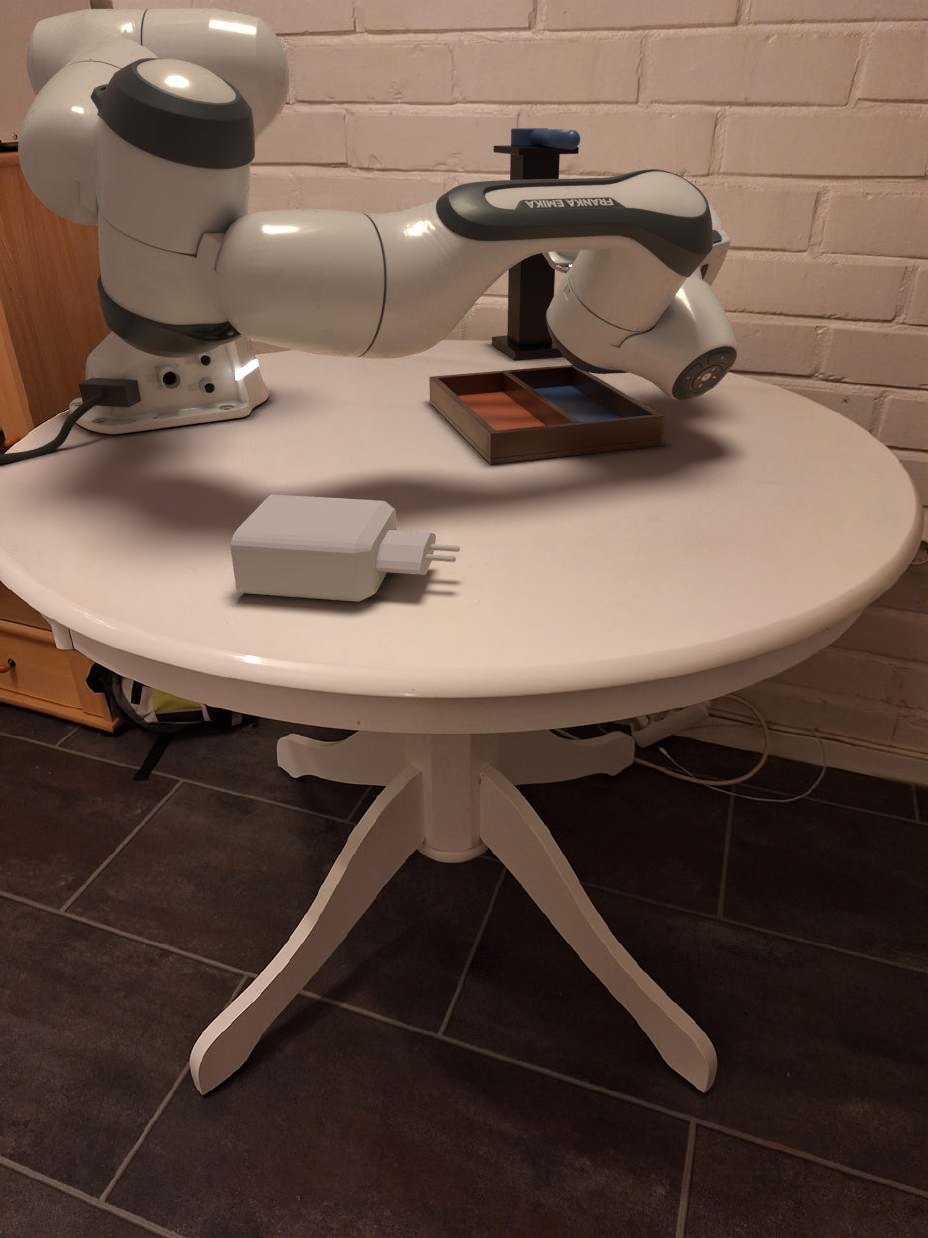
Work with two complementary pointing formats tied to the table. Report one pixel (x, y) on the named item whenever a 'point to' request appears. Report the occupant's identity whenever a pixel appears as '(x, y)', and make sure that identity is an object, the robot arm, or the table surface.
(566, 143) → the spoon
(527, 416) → the sorting tray
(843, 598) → the table surface
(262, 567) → the charger
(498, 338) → the spoon stand
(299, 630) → the table surface
